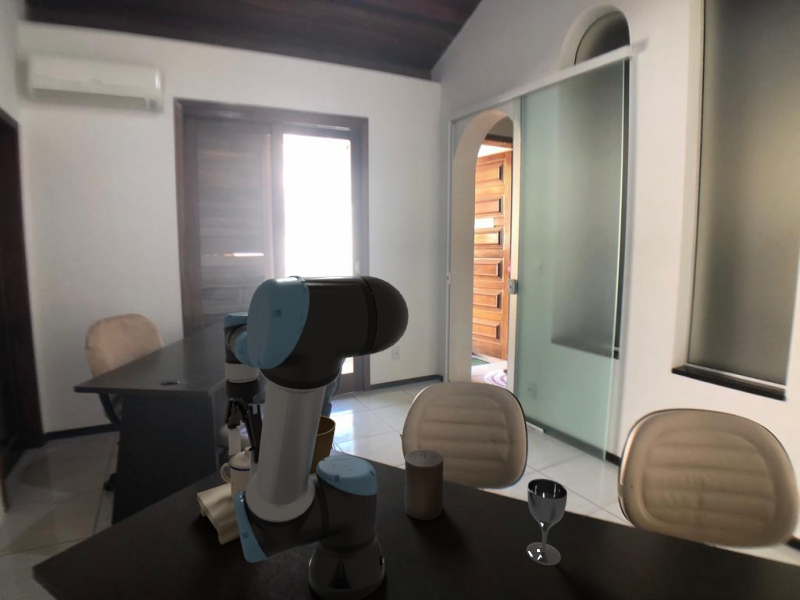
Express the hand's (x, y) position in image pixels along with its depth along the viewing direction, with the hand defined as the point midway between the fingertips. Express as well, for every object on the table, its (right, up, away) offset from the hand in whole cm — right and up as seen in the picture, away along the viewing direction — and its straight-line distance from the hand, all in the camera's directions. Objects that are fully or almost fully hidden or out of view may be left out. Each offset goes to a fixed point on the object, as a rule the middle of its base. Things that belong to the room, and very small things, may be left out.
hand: (245, 463), depth 104 cm
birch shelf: (0, -13, +2) cm, 13 cm away
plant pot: (+12, -11, +18) cm, 25 cm away
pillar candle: (+43, -13, +5) cm, 45 cm away
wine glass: (+68, -16, -11) cm, 71 cm away
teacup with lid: (-1, -8, +2) cm, 8 cm away
